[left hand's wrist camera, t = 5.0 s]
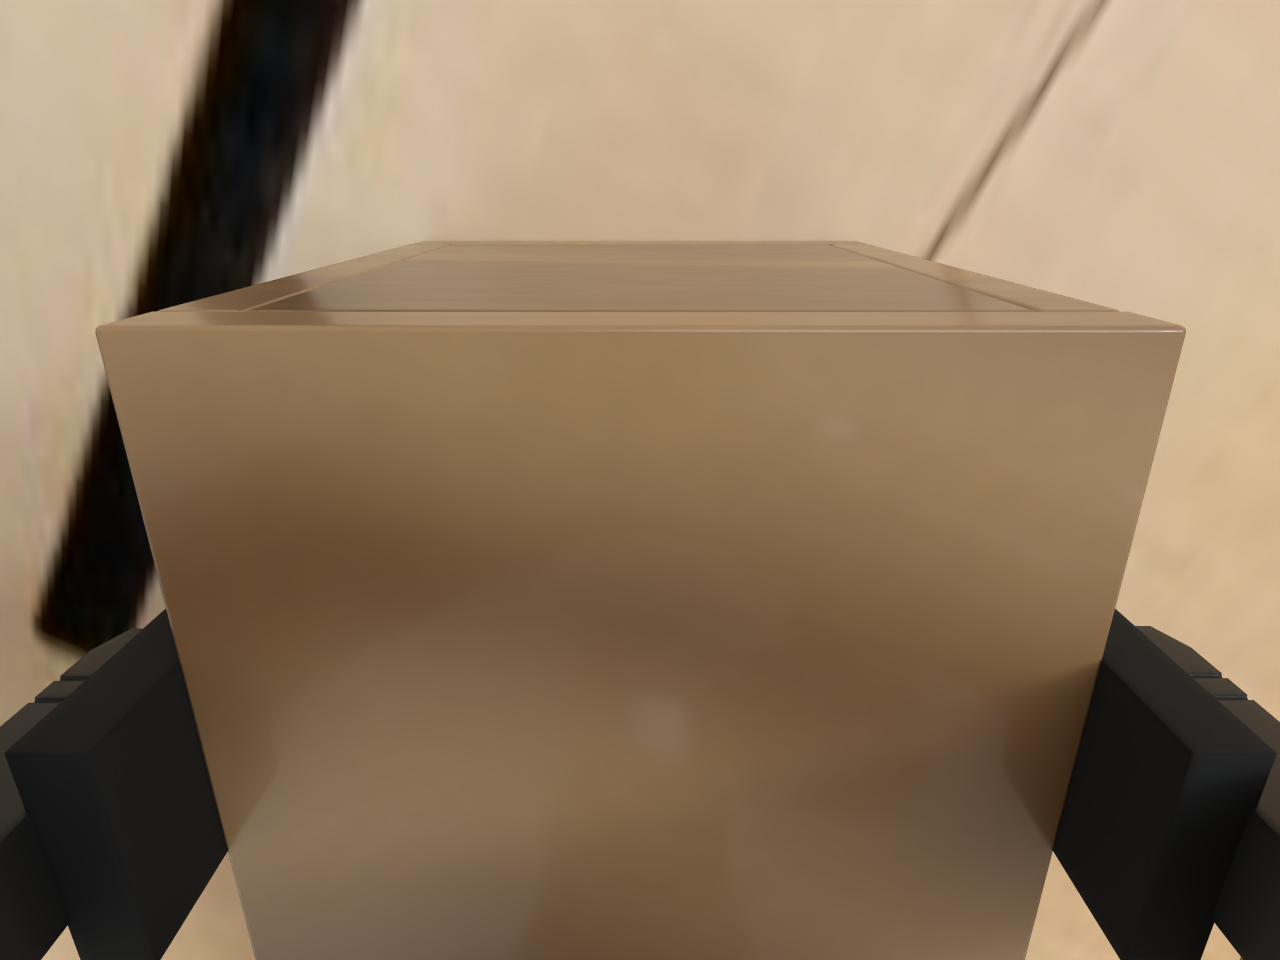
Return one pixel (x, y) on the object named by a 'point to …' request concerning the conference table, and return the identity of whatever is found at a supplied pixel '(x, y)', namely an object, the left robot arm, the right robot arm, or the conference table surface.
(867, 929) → the cabinet
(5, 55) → the conference table surface
